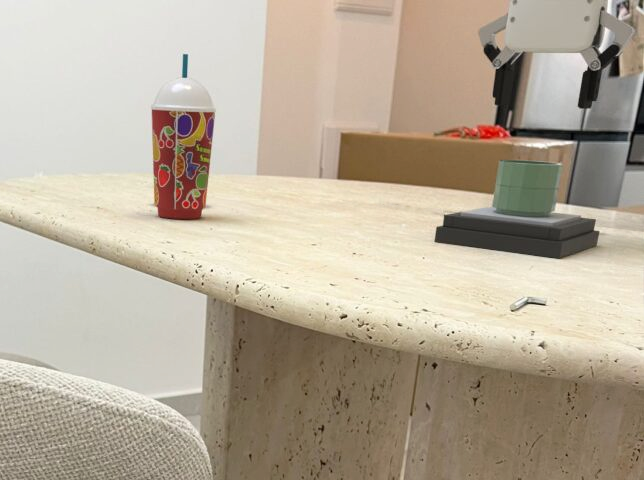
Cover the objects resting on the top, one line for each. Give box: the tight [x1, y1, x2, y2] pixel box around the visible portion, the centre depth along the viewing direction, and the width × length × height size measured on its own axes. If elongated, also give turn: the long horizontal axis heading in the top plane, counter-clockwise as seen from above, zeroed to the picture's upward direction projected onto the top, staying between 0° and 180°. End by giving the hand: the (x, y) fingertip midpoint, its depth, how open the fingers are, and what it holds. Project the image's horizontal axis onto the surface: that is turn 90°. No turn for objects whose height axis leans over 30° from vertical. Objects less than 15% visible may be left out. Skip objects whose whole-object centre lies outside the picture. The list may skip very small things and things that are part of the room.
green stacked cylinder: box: [491, 159, 564, 217], centre depth 113 cm, size 7×7×6 cm
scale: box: [434, 207, 600, 260], centre depth 115 cm, size 15×15×3 cm
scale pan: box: [460, 206, 582, 227], centre depth 115 cm, size 11×11×2 cm
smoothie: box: [150, 53, 217, 220], centre depth 122 cm, size 8×8×20 cm
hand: (542, 106), depth 110 cm, fingers open, 9 cm apart
